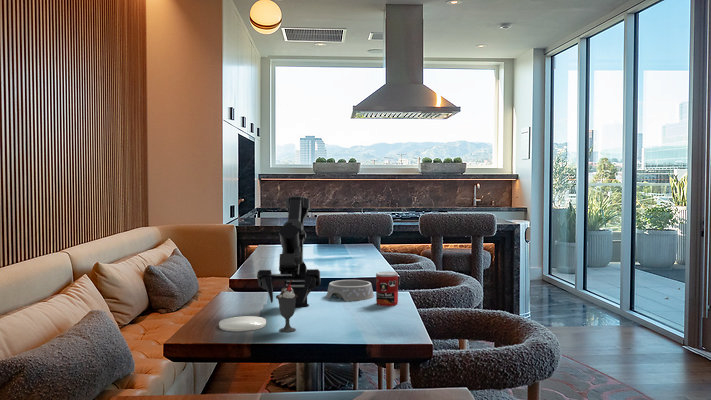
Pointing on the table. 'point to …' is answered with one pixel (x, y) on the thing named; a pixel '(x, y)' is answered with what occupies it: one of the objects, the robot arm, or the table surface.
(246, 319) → the saucer
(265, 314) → the table surface
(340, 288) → the dog bowl
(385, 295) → the canned food
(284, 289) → the sundae
